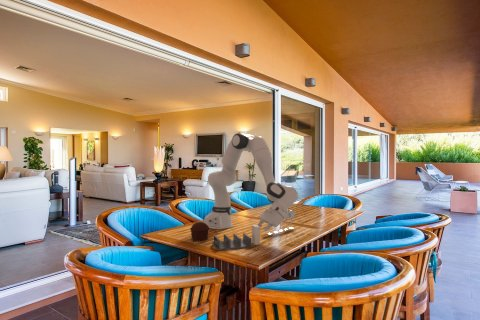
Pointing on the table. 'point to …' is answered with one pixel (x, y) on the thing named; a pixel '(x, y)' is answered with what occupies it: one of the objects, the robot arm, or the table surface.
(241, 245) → the dish rack
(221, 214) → the robot arm
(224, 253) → the table surface
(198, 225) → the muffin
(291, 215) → the goblet set
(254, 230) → the tall cream block
